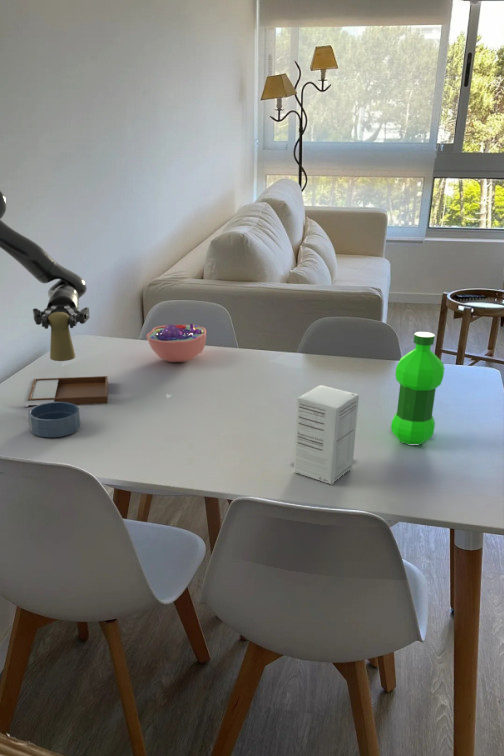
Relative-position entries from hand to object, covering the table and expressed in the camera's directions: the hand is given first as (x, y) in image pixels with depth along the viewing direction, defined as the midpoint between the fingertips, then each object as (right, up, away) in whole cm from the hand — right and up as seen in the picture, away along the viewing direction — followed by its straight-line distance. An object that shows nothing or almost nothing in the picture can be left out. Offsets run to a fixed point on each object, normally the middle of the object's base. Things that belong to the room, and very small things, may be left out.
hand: (58, 324), depth 167 cm
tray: (-1, -15, +16) cm, 22 cm away
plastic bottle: (+82, -28, -6) cm, 87 cm away
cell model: (+24, -3, +44) cm, 50 cm away
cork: (-1, -7, +6) cm, 10 cm away
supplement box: (+61, -34, -20) cm, 73 cm away
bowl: (0, -25, -4) cm, 25 cm away
